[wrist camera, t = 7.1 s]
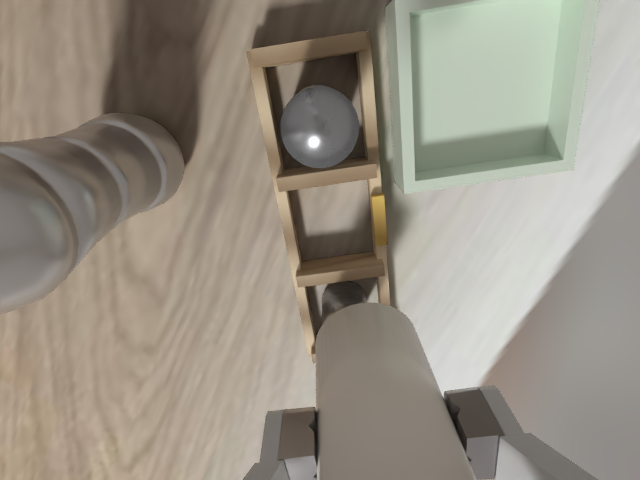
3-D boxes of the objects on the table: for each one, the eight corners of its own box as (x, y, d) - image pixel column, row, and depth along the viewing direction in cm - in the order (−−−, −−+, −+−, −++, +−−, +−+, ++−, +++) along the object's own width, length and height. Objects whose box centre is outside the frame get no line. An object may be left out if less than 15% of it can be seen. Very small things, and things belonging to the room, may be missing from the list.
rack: (250, 52, 24) (243, 50, 21) (367, 34, 23) (373, 29, 21) (308, 344, 34) (308, 363, 32) (390, 334, 34) (396, 352, 31)
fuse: (306, 309, 13) (299, 594, 6) (416, 294, 13) (550, 571, 6) (321, 388, 15) (330, 686, 8) (419, 376, 15) (523, 670, 7)
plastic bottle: (178, 211, 28) (-69, 455, 10) (91, 174, 27) (-381, 378, 9) (204, 135, 26) (-58, 273, 8) (109, 91, 24) (-487, 129, 6)
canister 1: (285, 88, 25) (273, 93, 17) (342, 79, 24) (354, 80, 17) (295, 147, 26) (288, 173, 19) (348, 138, 26) (362, 162, 19)
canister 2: (318, 284, 31) (320, 346, 24) (363, 278, 31) (379, 339, 24) (324, 320, 33) (328, 389, 26) (367, 315, 33) (383, 383, 25)
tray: (385, 7, 23) (394, -3, 20) (569, -24, 22) (605, -38, 19) (395, 182, 27) (404, 194, 25) (547, 160, 27) (573, 169, 24)
